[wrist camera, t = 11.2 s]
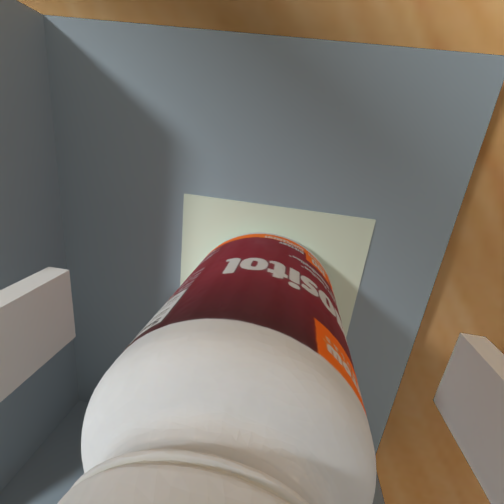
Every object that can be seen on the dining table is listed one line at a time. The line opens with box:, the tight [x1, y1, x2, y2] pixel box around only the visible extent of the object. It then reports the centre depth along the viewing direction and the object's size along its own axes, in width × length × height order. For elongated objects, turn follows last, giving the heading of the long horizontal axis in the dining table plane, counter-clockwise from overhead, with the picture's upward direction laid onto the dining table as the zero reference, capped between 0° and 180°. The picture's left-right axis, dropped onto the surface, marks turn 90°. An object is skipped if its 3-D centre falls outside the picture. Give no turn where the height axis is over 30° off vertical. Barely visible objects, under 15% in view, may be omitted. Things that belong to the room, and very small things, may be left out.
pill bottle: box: [57, 232, 376, 504], centre depth 9 cm, size 6×6×11 cm
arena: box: [0, 0, 504, 504], centre depth 11 cm, size 20×18×8 cm
